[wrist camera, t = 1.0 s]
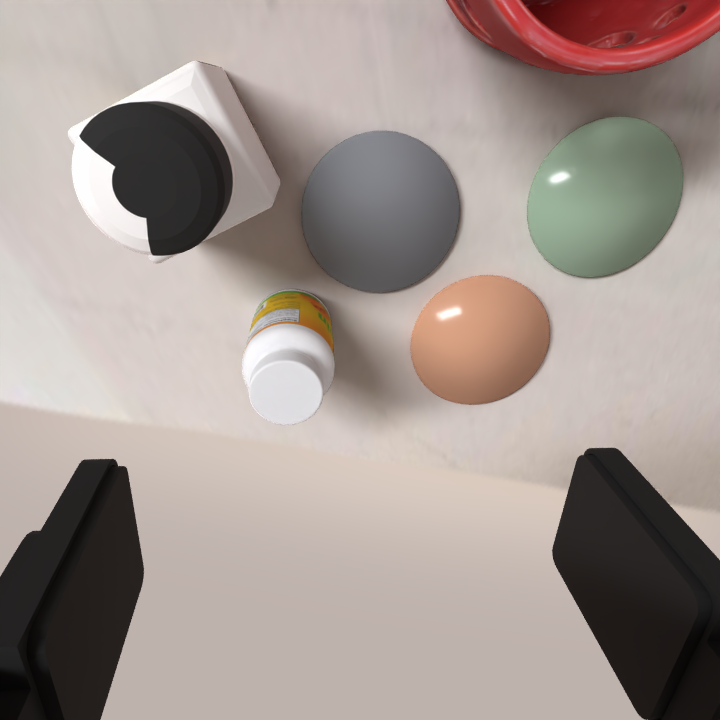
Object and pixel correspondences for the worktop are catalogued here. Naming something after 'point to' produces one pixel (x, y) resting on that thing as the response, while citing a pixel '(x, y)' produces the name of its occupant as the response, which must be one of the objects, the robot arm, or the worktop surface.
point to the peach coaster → (479, 339)
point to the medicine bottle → (172, 164)
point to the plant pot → (590, 31)
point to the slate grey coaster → (380, 211)
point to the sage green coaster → (605, 196)
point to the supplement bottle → (289, 357)
